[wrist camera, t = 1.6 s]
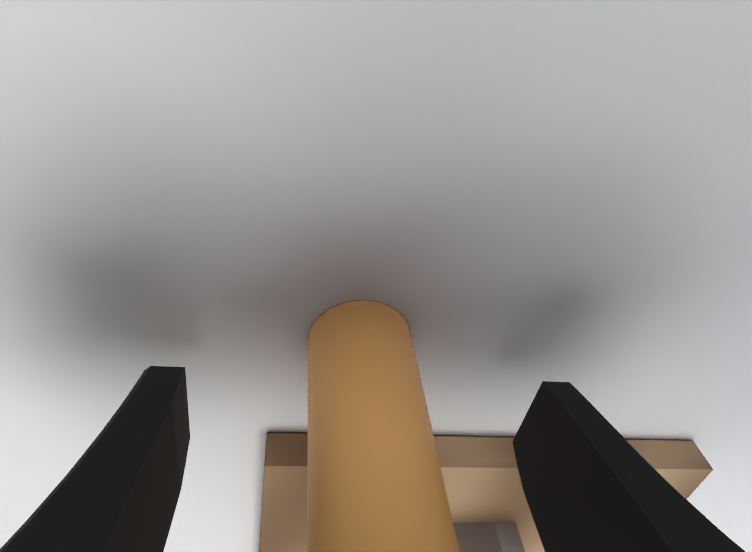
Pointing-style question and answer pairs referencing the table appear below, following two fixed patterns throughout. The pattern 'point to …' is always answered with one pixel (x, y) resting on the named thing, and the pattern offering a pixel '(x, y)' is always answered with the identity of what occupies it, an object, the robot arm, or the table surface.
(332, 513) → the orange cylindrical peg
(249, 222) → the table surface
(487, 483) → the wooden board with socket
